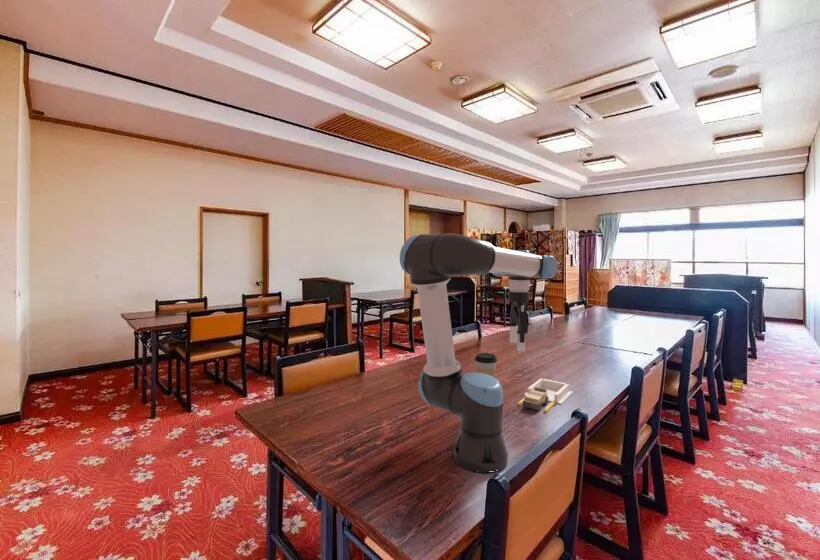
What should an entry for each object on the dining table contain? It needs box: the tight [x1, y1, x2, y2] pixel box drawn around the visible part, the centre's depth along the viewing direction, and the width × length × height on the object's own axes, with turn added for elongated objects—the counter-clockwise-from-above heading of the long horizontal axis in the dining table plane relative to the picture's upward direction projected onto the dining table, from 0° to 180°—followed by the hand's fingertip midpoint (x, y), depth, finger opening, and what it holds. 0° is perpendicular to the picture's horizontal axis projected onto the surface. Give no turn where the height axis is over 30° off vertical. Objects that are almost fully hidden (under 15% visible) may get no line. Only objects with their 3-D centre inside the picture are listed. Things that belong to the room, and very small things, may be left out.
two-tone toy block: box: [522, 387, 549, 412], centre depth 145 cm, size 11×6×6 cm, turn 142°
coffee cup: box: [474, 352, 498, 378], centre depth 161 cm, size 9×9×15 cm
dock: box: [517, 377, 574, 413], centre depth 152 cm, size 27×15×3 cm, turn 142°
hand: (516, 346), depth 143 cm, fingers open, 13 cm apart
